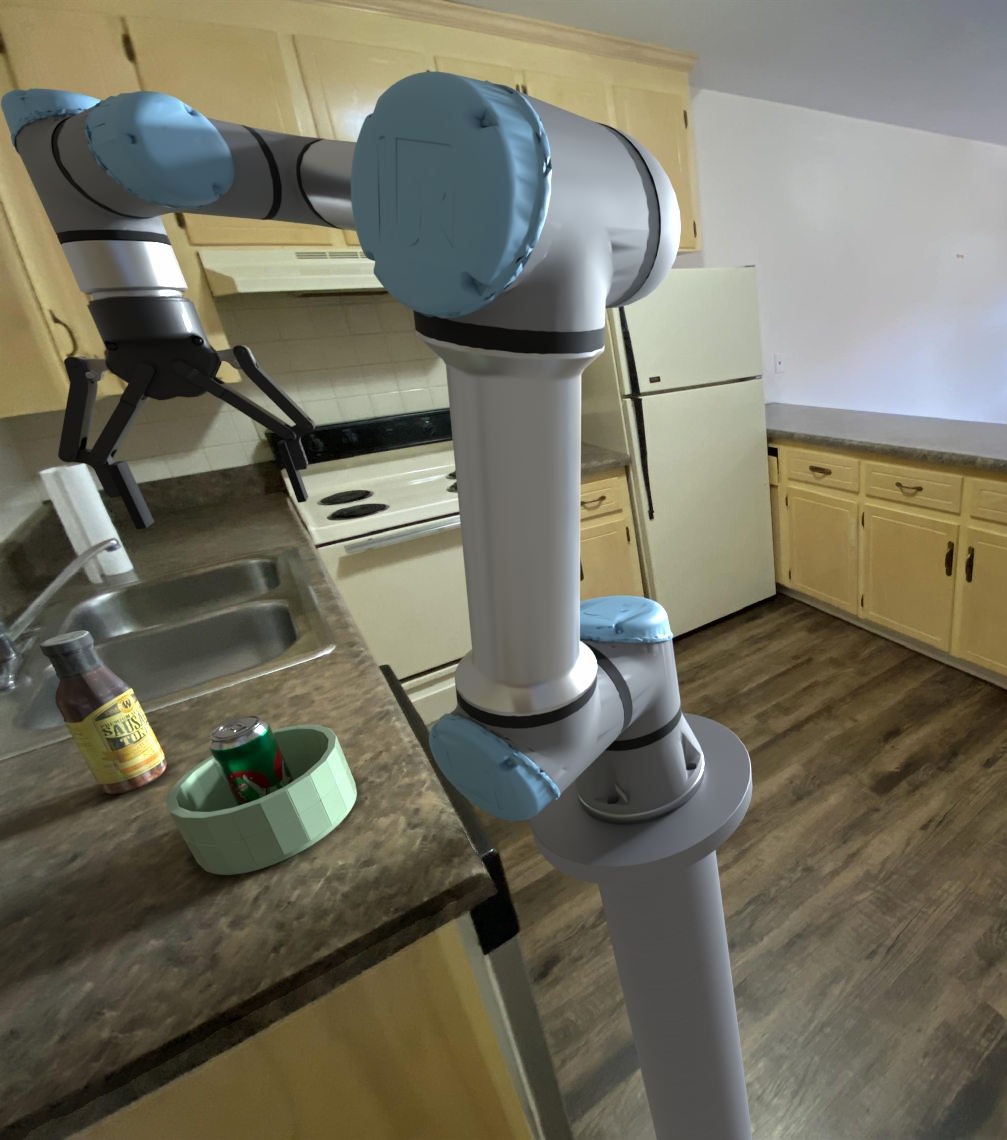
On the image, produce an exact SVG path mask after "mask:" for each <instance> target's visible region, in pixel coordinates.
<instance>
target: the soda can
mask: <svg viewBox="0 0 1007 1140" xmlns="http://www.w3.org/2000/svg"><path fill="white" fill-rule="evenodd" d="M272 730H273V729H272V727H271V725H270V723H268V722H267V721H266V720H263V718H262V717H261V716H260V715H258V714H249V715H244V716H239V717H236V718H233V719H231V720H228V721H225V722H224V723H222V724H220V725H219V726H217V727H216V728H214V729H213V730H212V732H210V734H209V739H210V742H209V745H208V746H209V747H208V748H209V750H210V752H211V756H212V755H213V757H214V759H215V761H216V763H217V765H218V767H219V769H220V771H221V773H222V775H223V777H224V779H225V781H226V783H227V785H228V787H229V789H230V791H231V793H232V795H233V797H234V799H235V801H236V803H237V805H238V806H240V805H243V804H246V803H249V802H252V801H255V800H258V799H260V798H262V797H264V796H266V795H268V794H270V793H272V792H275V791H277V790H279V789H281V788H283V787H285V786H286V785H288V784H290V783H291V782H293V781H294V779H293V777H292V775H291V772H290V770H289V768H288V766H287V763H286V761H285V759H284V757H283V754H282V752H281V750H280V748H279V745H278V743H277V741H276V739H275V737H274V734H273V732H272Z"/></svg>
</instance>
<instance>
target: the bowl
mask: <svg viewBox="0 0 1007 1140" xmlns="http://www.w3.org/2000/svg"><path fill="white" fill-rule="evenodd" d="M271 730H272V732H273V734H274V737H275V739H276V741H277V743H278V745H279V748H280V750H281V752H282V754H283V757H284V759H285V761H286V763H287V766H288V768H289V770H290V772H291V775H292V777H293V779H294V781H293V782H291V783H290V784H288V785H286V786H285V787H283V788H281V789H279V790H277V791H275V792H272V793H270V794H268V795H266V796H264V797H262V798H260V799H258V800H255V801H252V802H249V803H246V804H243V805H240V806H238V805H237V803H236V801H235V799H234V797H233V795H232V793H231V791H230V789H229V787H228V785H227V783H226V781H225V779H224V777H223V775H222V773H221V771H220V769H219V767H218V765H217V763H216V761H215V759H214V757H213V755H212V754H211V755H210V756H208V757H207V758H206V759H204V760H202V761H201V762H200V763H198V764H197V765H195V766H194V767H193V768H192V769H190V770H189V771H187V772H186V773H185V774H184V775H183V776H182V777H180V779H179V780H178V781H177V782H176V783H175V784H173V786H172V787H171V789H170V791H169V794H168V795H167V798H166V800H165V804H166V808H167V811H168V813H169V815H170V817H171V818H172V820H173V822H174V824H175V825H176V827H177V829H178V831H179V833H180V834H181V836H182V838H183V840H184V842H185V843H186V845H187V847H188V849H189V850H190V852H191V854H192V856H193V857H194V860H195V862H196V864H198V865H199V866H200V867H201V869H202V870H204V871H206V872H207V873H210V874H212V875H213V874H214V875H219V876H232V875H240V874H247V873H252V872H255V871H258V870H262V869H265V868H268V867H270V866H273V865H276V864H278V863H279V864H280V863H281V862H283V861H286V860H287V859H289V858H292V857H294V856H295V855H297V854H300V853H301V852H303V851H306V850H307V849H308V848H310V847H311V846H313V845H315V844H316V843H318V842H319V841H321V840H322V839H323V838H325V837H326V836H327V835H329V834H330V833H331V832H332V831H333V830H334V829H335V828H337V827H338V826H339V825H340V824H341V823H342V822H343V821H344V819H345V818H346V817H347V816H348V814H350V812H351V810H352V808H353V807H354V805H355V803H356V801H357V796H358V790H357V786H356V782H355V778H354V776H353V774H352V772H351V769H350V767H349V766H350V765H349V764H348V761H347V759H346V757H345V753H344V751H343V749H342V746H341V744H340V742H339V739H338V737H337V735H336V734H335V733H334V731H333V730H332V729H331V728H330V727H329V728H328V727H325V726H322V725H320V724H295V725H291V726H285V727H284V726H283V727H278V728H275V729H271Z"/></svg>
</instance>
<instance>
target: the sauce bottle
mask: <svg viewBox="0 0 1007 1140" xmlns="http://www.w3.org/2000/svg"><path fill="white" fill-rule="evenodd" d="M39 649H40V650H41V652H42V654H43V656H45V657H46V658H48V659H49V661H50V664H51V666H52V667H53V669H54V671H55V676H56V677H57V678H58V679H59V682H58V686H57V688H56V691H55V697H54V698H55V699H54V701H55V704H56V707H57V709H58V710H59V712H60V714H61V716H62V719H63V722H64V725H65V726H66V728H67V730H68V731H69V734H70V735H71V737H72V739H73V741H74V743H75V744H76V746H77V748H78V750H79V752H80V754H81V755H82V758H83V759H84V761H85V763H86V765H87V767H88V769H89V770H90V773H91V774H92V776H93V778H94V780H95V782H96V783H98V784H100V788H101V790H102V791H103V792H104V793H106V794H108V795H117V794H124V793H128V792H131V791H134V790H137V789H139V788H141V787H144V786H145V785H147V784H149V783H150V784H151V782H153V781H154V780H157V778H159V777H160V776H161V775H162V774H163V773H164V772H165V770H166V769H167V765H168V763H167V760H166V758H165V753H164V752H163V749H162V747H161V744H159V741H158V739H157V737H156V735H155V733H154V731H153V729H152V726H151V724H150V723H149V720H148V717H147V716H146V714H145V712H144V711H143V708H142V706H141V705H140V702H139V700H138V698H137V695H136V694H135V692H134V690H133V688H132V687H131V686H130V685H129V684H127V683H126V682H125V681H124V680H122V679H121V678H120V677H119V676H118V675H116V674H115V673H114V672H113V671H112V670H111V669H110V668H109V667H108V666H107V665H106V664H105V663H104V661H103V659H102V658H101V657H100V655H99V652H98V651H97V650H96V646H95V640H94V638H93V636H92V634H91V632H90V631H87V630H77V631H71V632H66V633H63V634H59V635H56V636H52V637H50V638H48V639H46V640H44V641H42V642H41V643H39Z"/></svg>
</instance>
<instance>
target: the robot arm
mask: <svg viewBox="0 0 1007 1140" xmlns="http://www.w3.org/2000/svg"><path fill="white" fill-rule="evenodd" d="M0 108H1V111H2V113H3V116H4V118H5V122H6V124H7V127H8V130H9V133H10V140H11V144H12V146H13V147H14V149H15V151H16V153H17V154H18V155H19V157H20V159H21V161H22V163H23V166H24V167H25V169H26V171H27V174H28V177H29V178H30V181H31V184H32V185H33V187H34V189H35V191H36V194H37V196H38V198H39V200H40V202H41V205H42V207H43V209H44V212H45V214H46V216H47V218H48V219H49V223H50V225H51V227H52V229H53V231H54V233H55V235H56V237H57V240H58V242H59V244H60V247H61V250H62V251H63V253H64V256H65V259H66V261H67V263H68V266H69V268H70V270H71V273H72V275H73V277H74V279H75V282H76V284H77V287H78V288H79V291H80V292H81V293H83V294H84V295H88V296H89V295H90V296H91V297H92V300H89V301H88V304H86V307H87V309H88V311H89V313H90V315H91V319H92V320H93V322H94V325H95V327H96V329H97V331H98V333H99V335H100V338H101V341H102V343H103V344H104V347H105V350H106V356H105V358H89V357H86V356H68V357H66V358H64V360H63V365H64V368H65V372H66V375H67V378H68V380H69V381H68V382H69V386H68V387H69V388H68V392H67V393H68V394H67V400H66V406H65V411H64V417H63V423H62V429H61V433H60V434H61V435H60V440H59V445H58V446H59V447H58V452H57V457H58V458H59V460H60V461H62V462H64V463H77V464H85V465H88V466H90V467H91V468H92V469H93V470H94V472H95V474H96V476H97V478H98V481H99V483H100V484H101V487H102V489H103V492H104V493H105V494H106V496H108V497H109V498H111V499H112V498H119V497H121V500H122V501H123V504H124V506H125V508H126V510H127V512H128V514H129V516H130V519H131V520H132V523H133V525H134V527H135V529H136V530H137V531H138V530H144V529H148V528H149V527H150V526H151V525H153V524H154V523H155V520H154V518H153V516H152V513H151V511H150V509H149V507H148V505H147V503H146V501H145V499H144V496H143V494H142V492H141V490H140V488H139V485H138V483H137V481H136V479H135V477H134V475H133V473H132V470H131V468H130V466H129V464H128V462H127V460H118V461H114V460H115V459H116V455H117V453H118V451H119V450H120V448H121V446H122V445H123V443H124V441H125V439H126V438H127V436H128V434H129V433H130V430H131V429H132V427H133V425H134V424H135V422H136V421H137V418H138V417H139V416H140V413H141V412H142V410H143V408H144V407H145V406H146V405H147V403H148V402H149V400H150V399H153V400H157V401H158V402H159V401H166V400H173V399H175V398H178V397H179V398H180V397H181V398H198V397H202V396H204V395H205V394H207V393H209V394H211V395H212V396H213V397H216V398H217V399H220V400H222V401H223V402H224V403H226V404H228V405H229V406H231V407H232V408H234V409H236V410H237V411H239V412H241V413H243V415H245V416H247V417H248V418H250V419H252V420H253V421H255V422H256V423H257V424H259V425H261V426H263V427H264V428H266V429H268V430H269V431H270V432H272V433H273V434H275V435H277V436H279V437H280V438H281V439H283V440H279V441H278V442H277V443H276V446H277V449H278V452H279V455H280V458H281V460H282V463H283V465H284V466H283V467H284V469H285V471H286V474H287V477H288V480H289V482H290V485H291V487H292V490H293V493H294V496H295V499H296V501H297V504H298V503H305V502H307V501H308V499H309V494H308V492H307V489H306V486H305V483H304V481H303V477H302V475H301V472H300V471H304V470H307V469H308V466H309V461H308V458H307V455H306V452H305V449H304V446H303V444H302V441H301V438H302V437H303V436H305V435H307V434H310V433H312V432H313V431H314V429H316V423H315V421H314V420H313V419H312V418H311V417H310V416H309V415H308V414H307V413H306V411H304V410H303V409H302V408H301V407H300V405H298V404H297V403H296V401H294V400H293V399H292V398H291V397H290V395H288V394H287V393H286V392H285V391H284V390H283V389H282V387H281V386H280V385H278V384H277V383H276V382H275V381H274V380H273V379H272V378H271V376H270V375H268V374H267V372H265V370H264V369H263V368H262V367H261V366H260V365H259V362H258V361H257V359H256V356H255V355H254V353H253V351H252V349H251V348H250V347H249V346H248V345H244V344H243V345H241V344H240V345H239V344H237V345H234V346H233V347H231V348H225V349H220V350H216V349H215V348H214V347H213V346H212V345H211V343H210V341H209V340H208V336H207V334H206V332H205V329H204V325H203V324H202V321H201V319H200V316H199V313H198V311H197V308H196V305H195V303H194V301H191V299H190V298H188V297H185V296H184V294H183V293H186V292H187V291H188V289H189V287H188V285H187V282H186V280H185V277H184V275H183V272H182V269H181V267H180V264H179V262H178V261H179V260H178V259H177V257H176V254H175V251H174V249H173V246H172V242H171V240H170V238H169V237H168V234H167V231H166V229H165V225H164V223H163V220H162V217H161V216H164V215H168V214H175V213H176V214H177V213H178V214H191V215H192V214H193V215H203V216H213V217H225V218H239V219H249V220H258V221H259V220H260V221H274V222H275V221H276V222H283V223H292V224H293V223H294V224H302V225H311V226H317V227H318V226H319V227H325V228H330V229H335V230H344V231H353V232H356V237H357V240H358V242H359V243H358V244H359V245H360V248H361V250H362V252H363V254H364V256H365V258H367V259H368V260H370V261H373V262H374V266H373V275H374V276H375V277H376V280H377V281H378V282H379V283H380V284H381V286H382V287H383V288H384V289H385V290H386V291H387V292H388V294H389V295H390V296H391V297H393V298H394V299H395V300H396V301H398V302H399V303H400V304H402V305H403V306H405V307H407V308H408V309H411V310H412V311H413V322H414V329H415V334H416V337H417V338H418V339H420V341H422V342H423V343H424V344H425V345H426V346H427V347H428V348H430V350H432V352H434V353H435V354H436V355H437V356H438V357H439V358H440V359H441V360H442V361H443V362H444V364H445V372H446V373H445V374H446V383H447V393H448V395H447V396H448V404H449V415H450V426H451V436H452V448H453V459H454V468H455V469H454V471H455V479H456V491H457V503H458V512H459V522H460V523H459V525H460V535H461V544H462V545H461V546H462V554H463V565H464V577H465V578H464V579H465V588H466V597H467V608H468V609H467V610H468V620H469V630H470V640H471V641H470V642H471V649H469V650H468V651H467V652H466V653H465V654H464V656H462V658H461V659H460V660H459V662H458V664H457V666H456V669H455V671H454V686H455V695H456V696H455V697H456V707H455V709H454V710H452V711H451V712H450V713H444V714H443V715H442V716H440V717H439V720H438V721H436V723H435V724H433V725H432V727H431V728H430V731H429V734H428V745H429V748H430V751H431V754H432V756H433V758H434V761H435V763H436V765H437V766H438V768H439V770H440V771H441V772H442V774H443V775H444V776H445V778H446V779H447V780H448V781H449V783H450V784H451V785H452V786H453V787H454V788H455V789H456V790H457V791H458V792H459V794H461V795H462V796H463V797H464V798H465V799H467V800H468V801H469V802H471V804H473V805H474V806H476V807H477V808H478V809H480V810H481V811H483V812H485V813H486V814H489V815H490V816H492V817H494V818H496V819H499V820H503V821H506V822H513V823H514V822H515V823H516V822H521V821H526V820H529V819H530V818H532V817H534V816H535V815H537V814H538V813H539V812H540V811H541V810H542V809H544V808H545V807H546V806H547V805H548V804H549V803H550V802H551V801H555V800H557V799H558V798H559V797H560V795H561V793H562V792H563V791H564V790H565V789H566V788H567V787H568V786H569V785H570V784H571V783H572V782H573V781H574V780H575V786H576V791H577V796H578V800H579V802H580V804H581V806H582V808H583V809H584V810H585V811H586V812H587V813H588V814H589V815H591V816H592V817H594V818H596V819H598V820H601V821H604V822H607V823H612V824H624V825H627V824H639V823H644V822H648V821H652V820H655V819H658V818H661V817H663V816H666V815H668V814H670V813H672V812H674V811H675V810H677V809H678V808H680V807H681V806H683V805H684V804H685V803H686V802H688V801H689V800H690V799H691V798H692V797H693V796H694V794H695V793H696V792H697V791H698V789H699V787H700V786H701V784H702V781H703V778H704V774H705V765H704V758H703V753H702V750H701V747H700V745H699V743H698V741H697V739H696V737H695V736H694V734H693V732H692V730H691V729H690V727H689V725H688V723H687V721H686V720H685V718H684V716H683V714H682V713H683V710H682V704H681V696H680V695H681V694H680V688H679V681H678V673H677V666H676V660H675V658H676V657H675V651H674V644H673V643H674V642H673V638H674V634H673V632H672V630H671V628H670V627H671V626H670V622H669V621H670V620H669V617H668V613H667V611H666V610H665V608H664V606H662V605H661V604H660V603H659V602H657V601H655V600H653V599H651V598H646V597H642V596H634V595H607V596H600V597H594V598H588V599H584V600H581V500H582V499H581V498H582V497H581V494H582V493H581V488H582V486H581V485H582V484H581V483H582V481H581V479H582V478H581V477H582V476H581V473H582V471H581V470H582V460H581V459H582V375H583V373H584V371H585V369H587V368H588V366H589V365H591V364H592V363H593V362H594V361H595V360H597V359H598V358H599V357H600V356H601V355H602V354H603V353H604V352H605V335H606V333H605V331H606V329H605V328H606V309H616V308H621V307H625V306H630V305H632V304H635V303H637V302H638V301H640V300H642V299H644V298H646V297H648V296H649V295H650V294H651V293H653V292H654V291H655V290H657V288H658V287H660V285H661V284H662V283H663V282H664V280H665V279H666V278H667V276H668V275H669V273H670V272H671V270H672V267H673V265H674V263H675V261H676V258H677V255H678V251H679V247H680V242H681V230H682V225H681V211H680V207H679V203H678V199H677V198H678V197H677V195H676V192H675V190H674V187H673V185H672V183H671V179H670V177H669V176H668V174H667V172H666V171H665V169H664V168H663V166H662V165H661V163H660V162H659V160H658V159H657V158H656V157H655V155H653V154H652V153H651V151H650V150H649V149H647V148H646V146H644V145H643V144H642V143H641V142H639V141H638V140H637V139H636V138H635V137H634V136H631V135H629V134H627V133H626V132H624V131H623V130H620V129H618V128H615V127H613V126H611V125H608V124H605V123H600V122H597V121H594V120H591V119H589V118H586V117H585V116H581V115H579V114H577V113H574V112H572V111H569V110H566V109H563V108H562V107H558V106H556V105H554V104H552V103H548V102H546V101H544V100H541V99H539V98H536V97H534V96H531V95H530V94H529V95H528V94H526V93H524V92H521V91H518V90H516V89H515V88H512V87H511V86H508V85H506V84H499V83H494V82H491V81H489V80H481V79H476V78H473V77H467V76H464V75H460V74H455V73H450V72H445V71H432V70H431V71H423V72H416V73H413V74H410V75H407V76H405V77H404V78H402V79H399V80H398V81H396V82H394V83H393V84H391V85H390V86H389V87H388V88H387V89H386V90H385V91H383V93H382V94H381V95H380V96H378V99H377V100H376V104H375V106H374V109H373V111H372V113H369V114H368V115H366V117H365V118H364V120H363V122H362V124H361V128H360V130H359V134H358V136H357V139H356V141H350V140H349V141H348V140H339V139H338V140H337V139H329V138H323V137H313V136H302V135H298V134H297V135H296V134H290V133H286V132H285V133H284V132H280V131H274V130H269V129H262V128H257V127H251V126H247V125H244V124H239V123H234V122H229V121H225V120H220V119H216V118H210V117H206V116H204V114H202V113H201V112H200V111H197V110H195V109H194V108H193V107H191V106H190V105H188V104H187V103H185V102H183V101H182V100H180V99H178V98H176V97H174V96H172V95H169V94H166V93H163V92H159V91H153V90H152V91H151V90H138V91H134V92H133V91H132V92H125V93H124V92H122V93H119V94H117V95H115V96H114V95H109V96H108V97H106V98H105V99H99V98H97V97H93V96H89V95H86V94H83V93H77V92H72V91H68V90H61V89H54V88H53V89H52V88H37V87H36V88H28V89H27V90H25V89H12V90H10V91H8V92H6V93H4V95H2V97H1V99H0ZM223 362H225V363H228V364H229V365H230V366H231V367H232V368H233V369H235V370H239V371H240V370H242V372H243V373H244V374H245V375H246V376H247V378H248V379H249V380H251V382H252V383H254V384H255V386H257V387H258V389H260V390H261V392H263V394H265V395H266V396H267V397H268V399H269V400H271V401H272V402H273V403H274V404H275V405H276V407H277V408H278V409H280V410H281V411H282V412H283V413H284V414H285V415H286V416H287V417H288V418H289V420H291V421H292V423H294V425H291V424H289V423H287V422H285V421H284V420H282V419H281V418H280V417H278V416H277V415H275V414H273V413H272V412H271V411H269V410H267V409H266V408H265V407H263V406H261V405H260V404H258V403H256V402H255V401H253V400H252V399H250V398H249V397H247V396H245V395H244V394H242V393H241V392H240V391H238V390H237V389H235V388H234V387H233V386H231V385H230V384H228V383H227V382H226V381H224V380H222V379H221V378H219V377H218V376H217V374H218V373H219V370H220V368H221V366H222V363H223ZM107 371H110V373H111V374H113V375H114V376H116V377H118V378H119V379H121V380H122V381H124V382H125V383H127V385H126V387H125V388H124V390H123V392H122V394H121V396H120V397H119V402H118V404H116V407H115V408H114V410H113V412H112V414H111V415H110V417H109V419H108V421H107V423H106V424H105V425H104V427H103V429H102V431H101V432H100V434H99V436H98V438H97V440H96V441H95V442H94V445H93V446H92V448H88V447H89V440H90V435H91V429H92V422H93V417H94V411H95V406H96V399H97V395H98V388H99V387H98V386H99V385H98V382H101V381H103V380H104V379H105V373H106V372H107Z"/></svg>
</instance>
